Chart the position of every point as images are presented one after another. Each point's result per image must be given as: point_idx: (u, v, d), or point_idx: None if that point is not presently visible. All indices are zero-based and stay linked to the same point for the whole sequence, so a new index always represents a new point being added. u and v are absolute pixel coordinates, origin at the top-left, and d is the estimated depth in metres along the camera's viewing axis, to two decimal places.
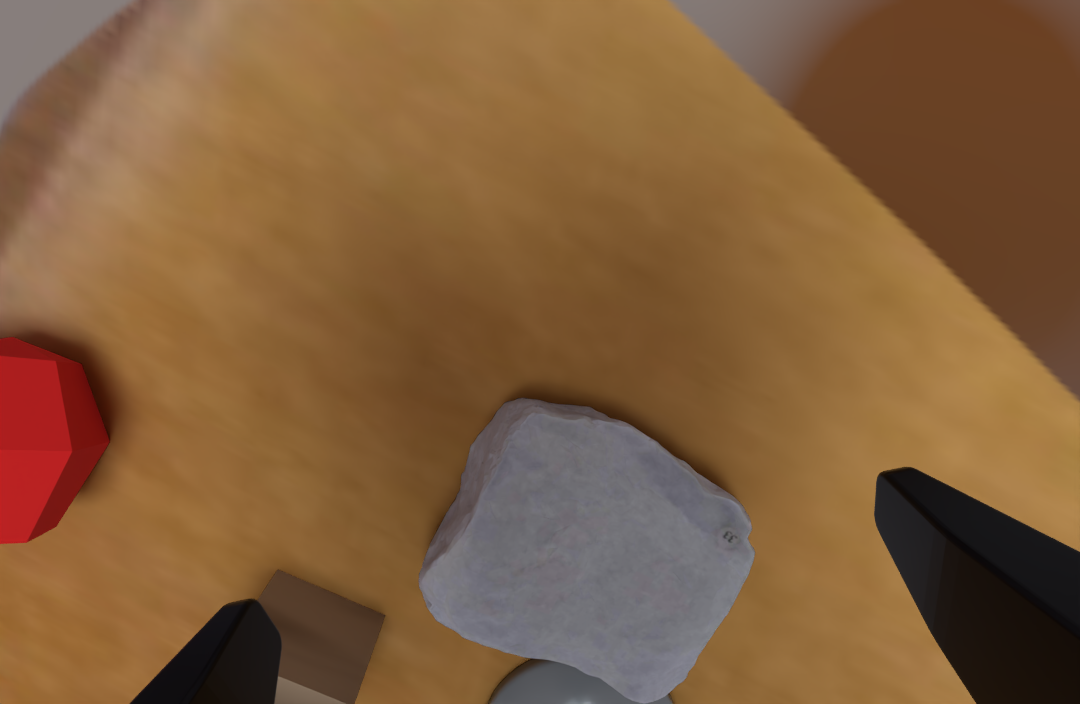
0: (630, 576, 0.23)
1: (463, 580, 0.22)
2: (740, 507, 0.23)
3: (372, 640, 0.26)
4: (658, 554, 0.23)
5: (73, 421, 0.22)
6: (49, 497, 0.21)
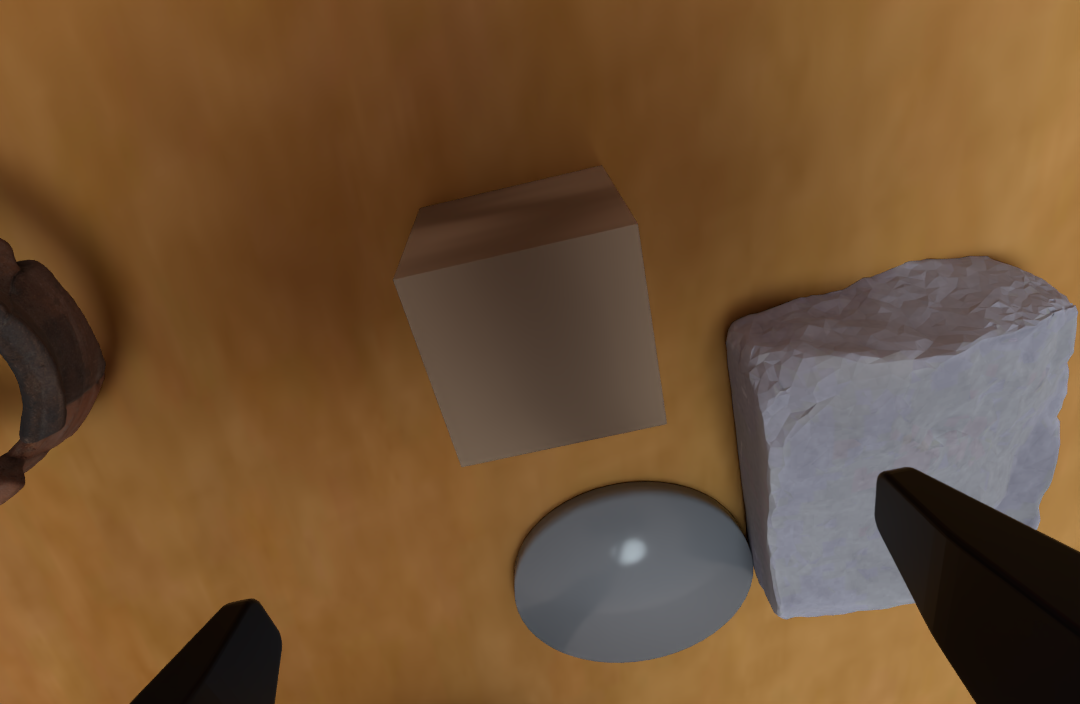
0: None
1: (873, 403, 0.16)
2: None
3: None
4: None
5: None
6: None
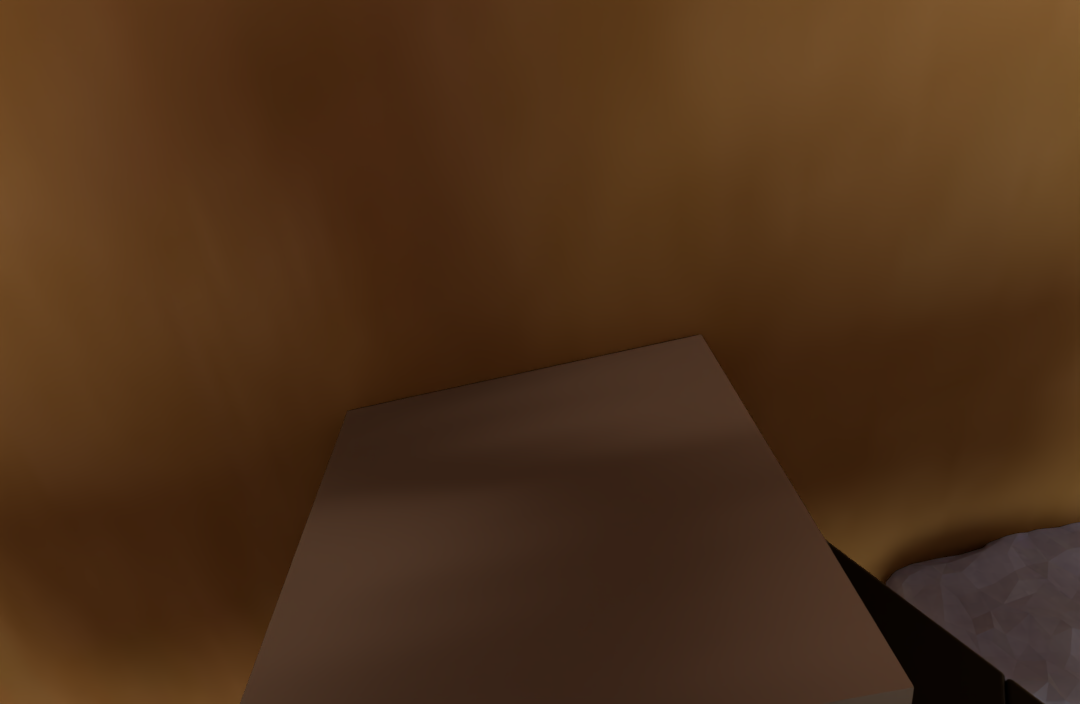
0: None
1: None
2: None
3: None
4: None
5: None
6: None
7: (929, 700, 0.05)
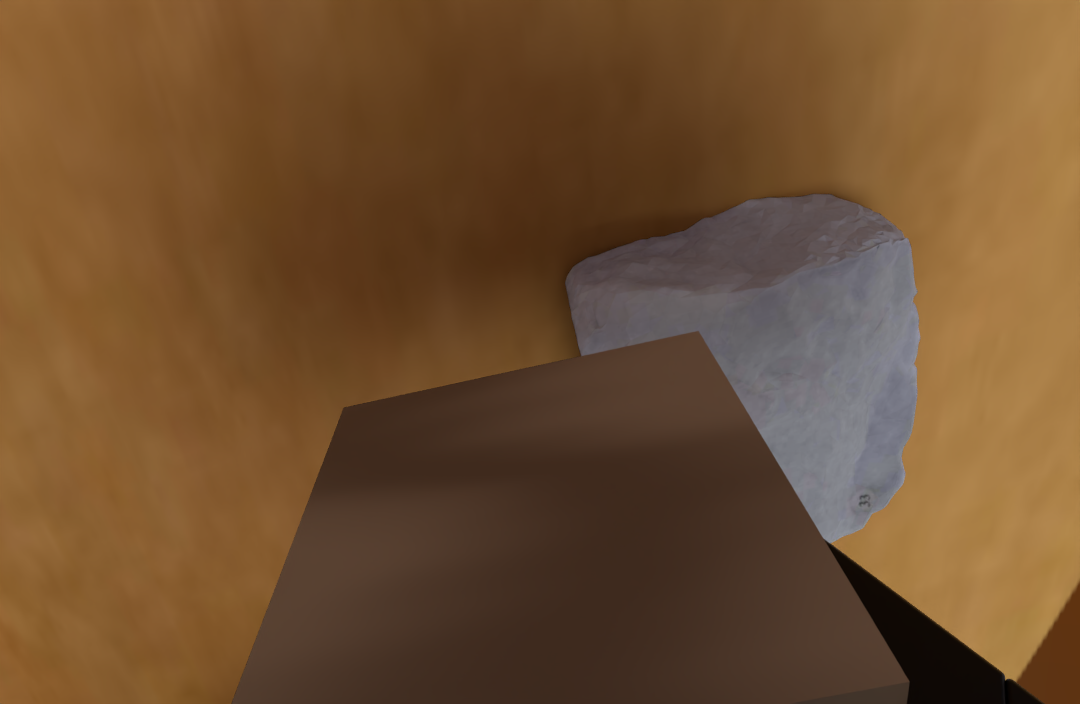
0: None
1: None
2: (900, 485, 0.20)
3: None
4: (821, 469, 0.19)
5: None
6: None
7: (929, 700, 0.05)
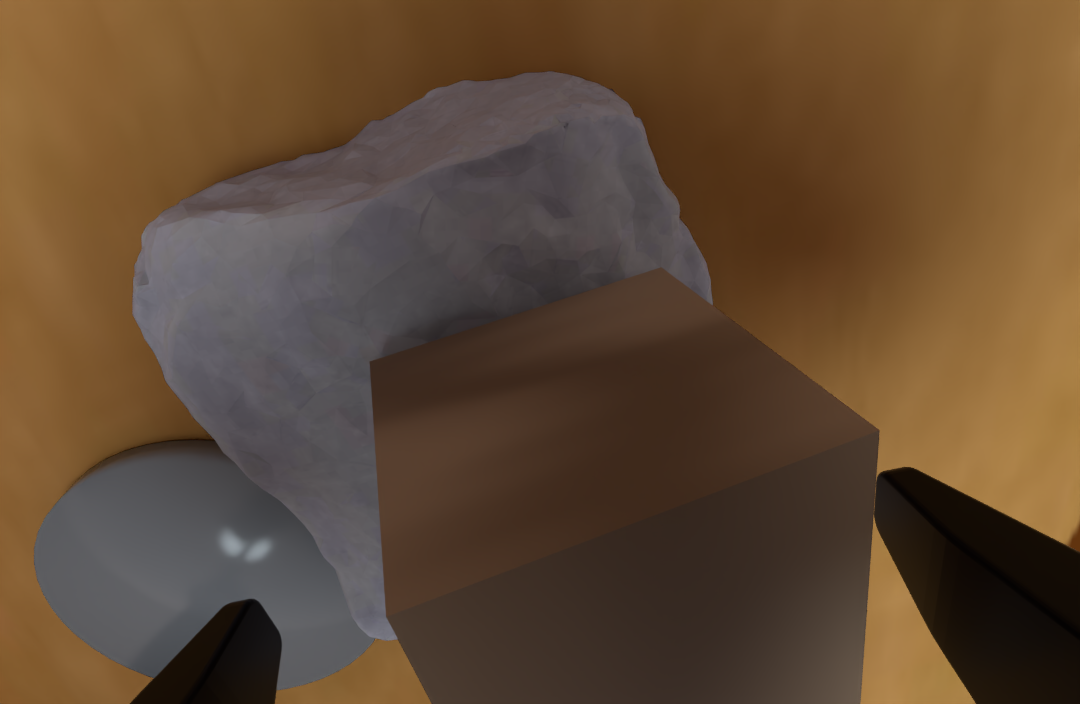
0: None
1: (258, 292, 0.10)
2: None
3: None
4: None
5: None
6: None
7: None
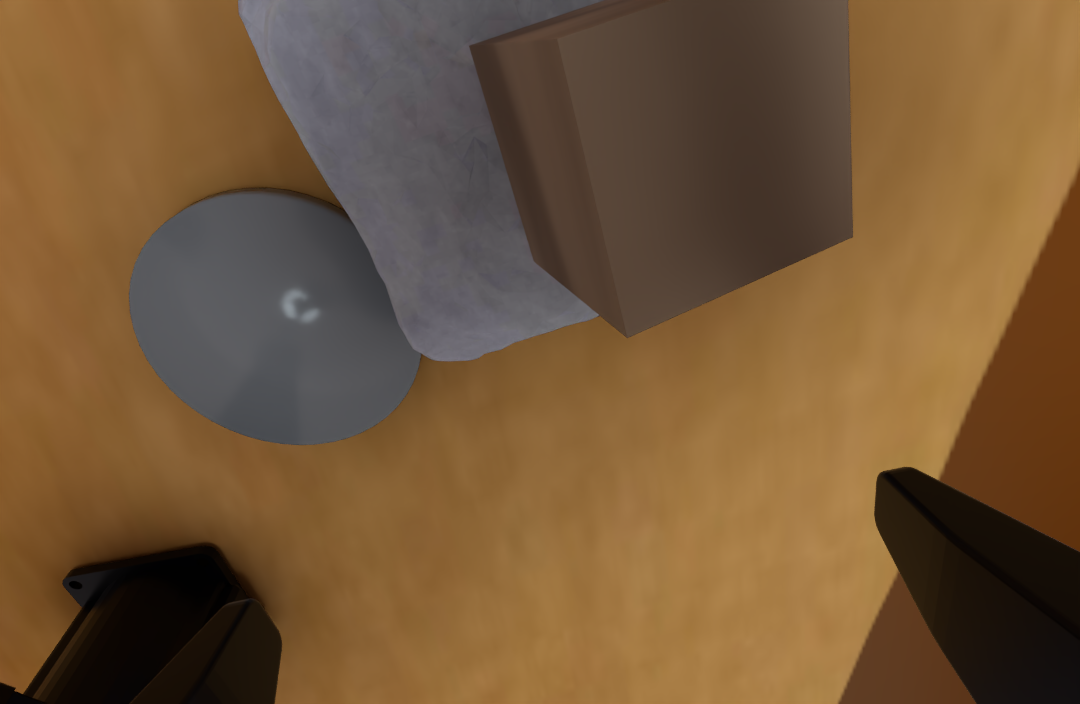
0: None
1: None
2: None
3: None
4: None
5: None
6: None
7: None
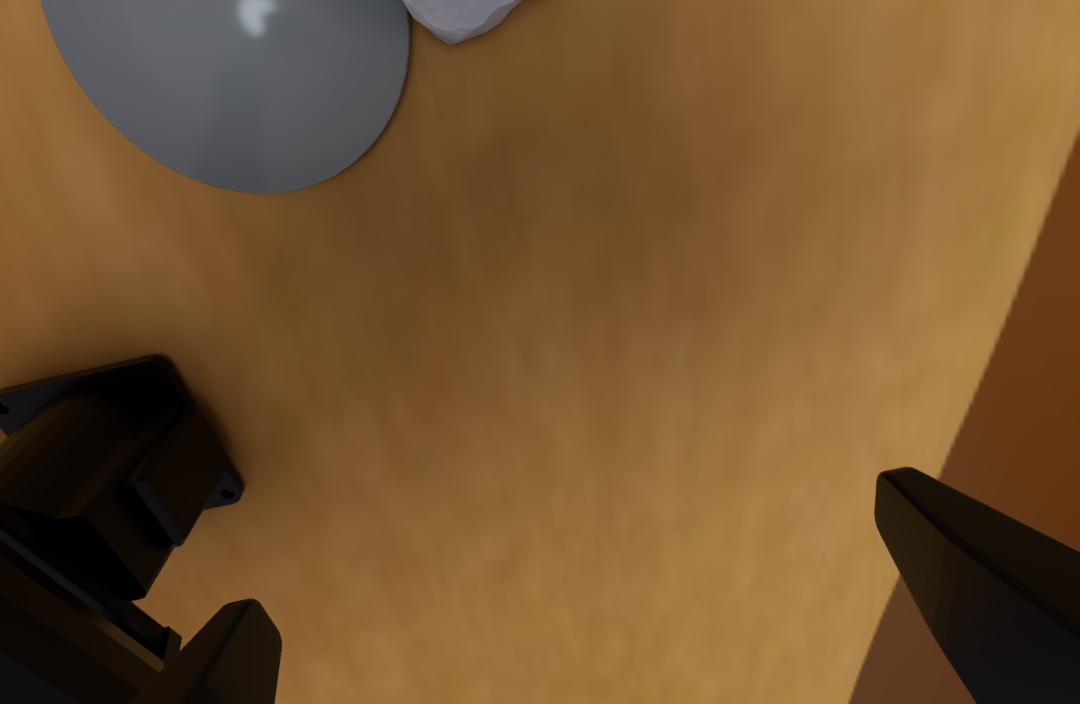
0: None
1: None
2: None
3: None
4: None
5: None
6: None
7: None
